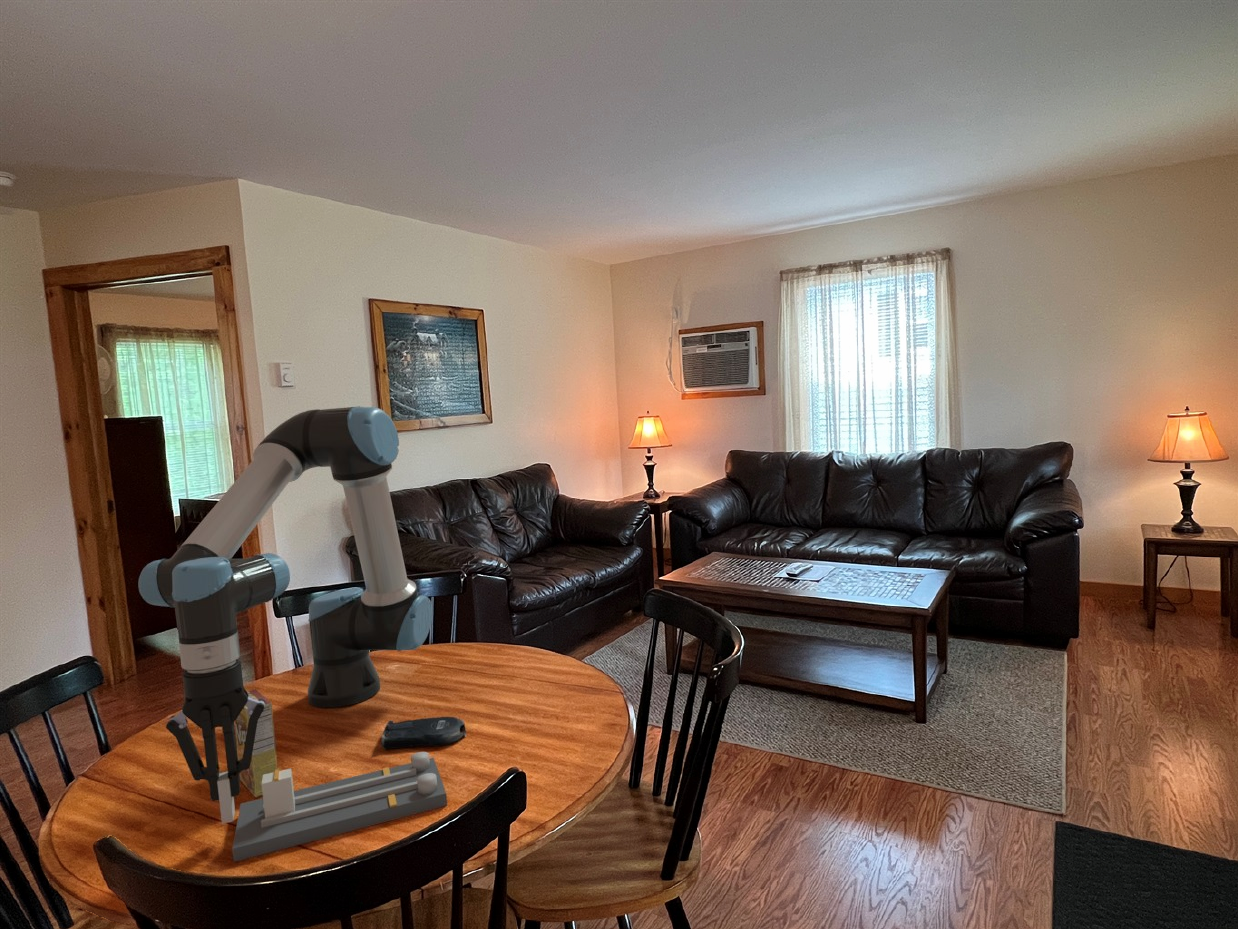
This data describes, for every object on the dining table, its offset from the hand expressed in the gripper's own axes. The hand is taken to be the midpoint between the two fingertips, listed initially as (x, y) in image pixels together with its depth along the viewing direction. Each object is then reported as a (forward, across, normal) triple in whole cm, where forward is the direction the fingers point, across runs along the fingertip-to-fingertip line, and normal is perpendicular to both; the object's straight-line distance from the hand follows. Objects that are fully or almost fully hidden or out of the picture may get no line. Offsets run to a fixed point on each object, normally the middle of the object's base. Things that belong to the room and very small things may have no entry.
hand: (228, 817), depth 108 cm
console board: (+3, +16, 0) cm, 16 cm away
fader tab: (+1, +7, 0) cm, 7 cm away
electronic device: (+4, +31, +19) cm, 37 cm away
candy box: (+4, +3, +16) cm, 17 cm away
